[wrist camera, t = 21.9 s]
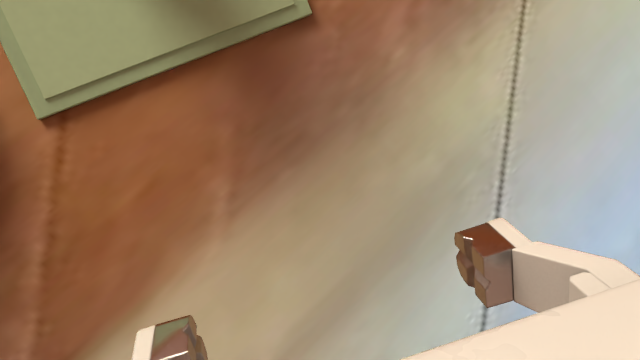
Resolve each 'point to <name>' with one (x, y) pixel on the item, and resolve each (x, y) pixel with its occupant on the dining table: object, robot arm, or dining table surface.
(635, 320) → the robot arm
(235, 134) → the dining table surface
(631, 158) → the dining table surface
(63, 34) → the placemat
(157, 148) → the dining table surface
